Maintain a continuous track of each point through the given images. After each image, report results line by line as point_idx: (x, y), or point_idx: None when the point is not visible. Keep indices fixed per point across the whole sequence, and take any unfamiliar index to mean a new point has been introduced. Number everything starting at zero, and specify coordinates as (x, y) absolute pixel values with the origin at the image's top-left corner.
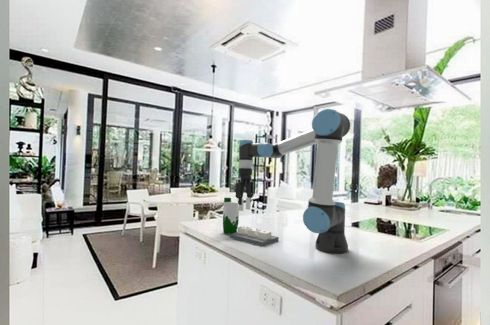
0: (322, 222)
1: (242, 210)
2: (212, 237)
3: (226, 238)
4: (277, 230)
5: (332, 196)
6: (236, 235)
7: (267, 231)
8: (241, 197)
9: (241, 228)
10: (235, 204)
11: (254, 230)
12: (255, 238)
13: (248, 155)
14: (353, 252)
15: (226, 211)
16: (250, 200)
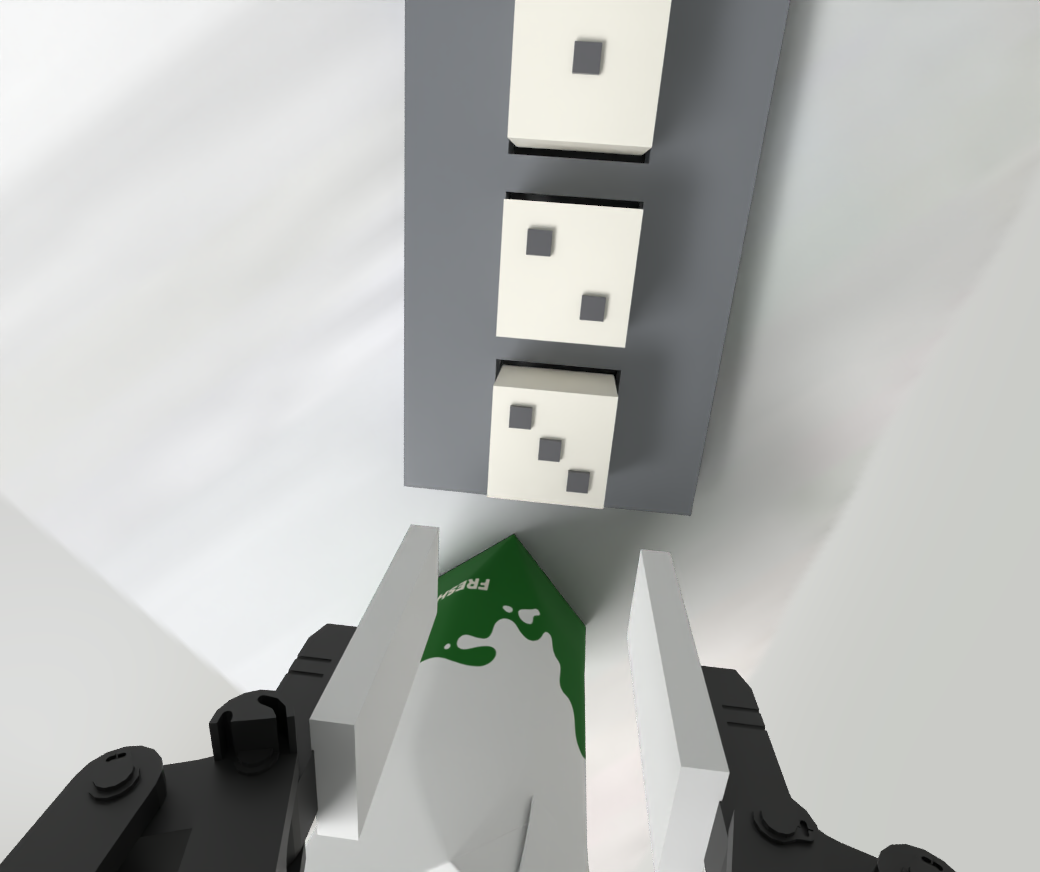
0: None
1: (666, 557)
2: (773, 624)
3: (723, 508)
4: (31, 267)
5: None
6: (698, 428)
7: (535, 36)
8: (800, 834)
9: (610, 447)
10: (483, 847)
11: (612, 236)
12: (680, 164)
13: None
14: None
15: (585, 820)
16: (300, 677)
